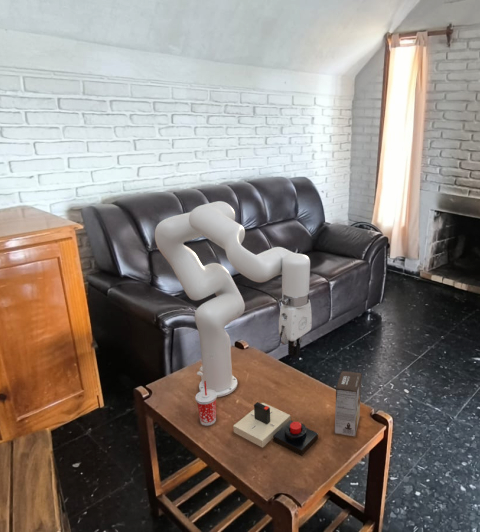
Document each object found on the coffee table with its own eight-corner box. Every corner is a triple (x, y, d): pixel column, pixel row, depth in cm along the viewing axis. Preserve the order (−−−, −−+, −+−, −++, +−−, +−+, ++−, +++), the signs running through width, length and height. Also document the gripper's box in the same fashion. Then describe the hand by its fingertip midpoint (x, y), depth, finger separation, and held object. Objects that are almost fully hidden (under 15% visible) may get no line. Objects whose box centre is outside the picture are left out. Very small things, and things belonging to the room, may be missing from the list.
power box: (273, 441, 125) (272, 430, 124) (290, 426, 132) (290, 415, 130) (301, 456, 120) (301, 445, 119) (317, 439, 127) (318, 428, 125)
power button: (287, 431, 124) (287, 426, 124) (294, 425, 127) (294, 420, 126) (296, 435, 123) (296, 430, 122) (303, 429, 125) (303, 424, 124)
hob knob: (254, 418, 130) (253, 404, 129) (258, 415, 132) (257, 401, 130) (266, 424, 128) (266, 410, 126) (270, 421, 129) (270, 407, 128)
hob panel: (233, 432, 128) (233, 425, 127) (262, 408, 139) (262, 401, 138) (262, 447, 123) (262, 440, 122) (290, 422, 133) (290, 414, 132)
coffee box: (339, 413, 137) (341, 369, 132) (359, 417, 136) (362, 372, 131) (334, 433, 129) (335, 387, 123) (355, 437, 128) (358, 391, 122)
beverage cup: (207, 430, 129) (204, 390, 124) (193, 422, 132) (189, 382, 127) (222, 418, 134) (220, 379, 129) (208, 411, 137) (205, 372, 132)
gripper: (289, 311, 114) (287, 371, 120) (321, 293, 126) (319, 348, 132) (267, 303, 118) (267, 361, 124) (300, 286, 129) (299, 340, 136)
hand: (294, 354), depth 128 cm, fingers closed
